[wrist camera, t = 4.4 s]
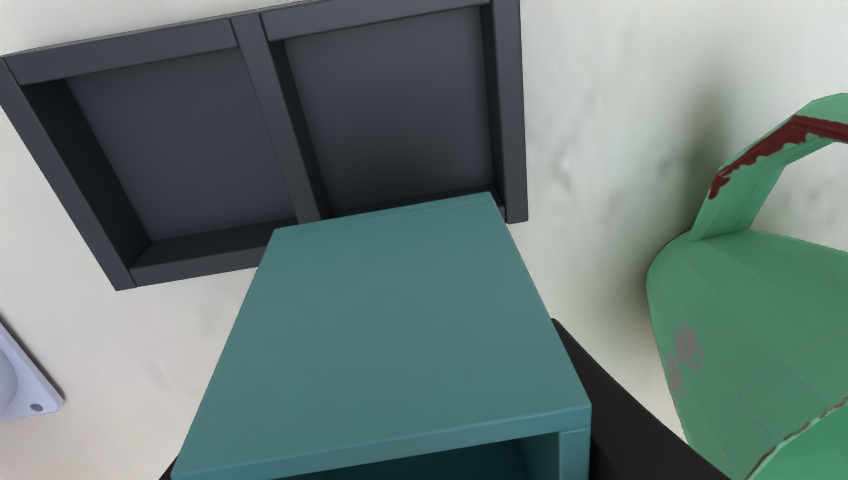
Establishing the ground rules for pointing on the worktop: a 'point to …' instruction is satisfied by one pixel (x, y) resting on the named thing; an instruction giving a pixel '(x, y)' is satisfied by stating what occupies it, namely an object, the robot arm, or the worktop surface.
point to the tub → (392, 359)
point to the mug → (758, 320)
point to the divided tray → (270, 125)
